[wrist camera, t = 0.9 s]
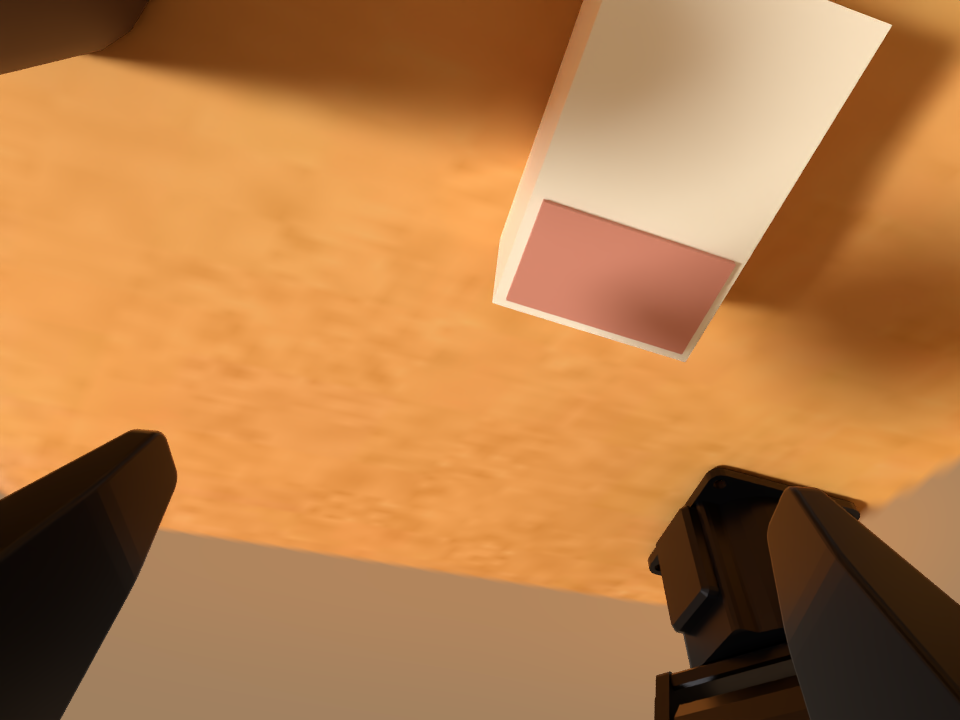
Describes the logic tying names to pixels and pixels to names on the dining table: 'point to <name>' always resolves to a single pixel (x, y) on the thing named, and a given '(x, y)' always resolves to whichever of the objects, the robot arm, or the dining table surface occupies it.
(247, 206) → the dining table surface
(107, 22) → the bottle
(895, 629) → the robot arm
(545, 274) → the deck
